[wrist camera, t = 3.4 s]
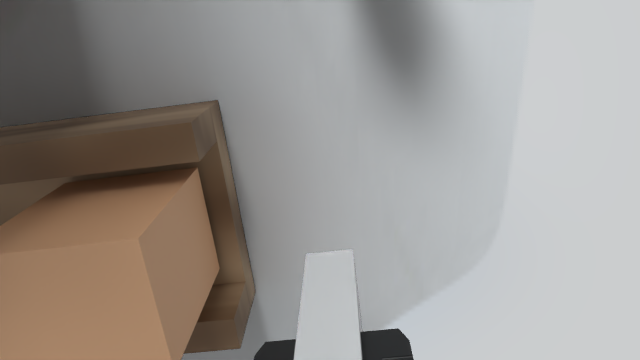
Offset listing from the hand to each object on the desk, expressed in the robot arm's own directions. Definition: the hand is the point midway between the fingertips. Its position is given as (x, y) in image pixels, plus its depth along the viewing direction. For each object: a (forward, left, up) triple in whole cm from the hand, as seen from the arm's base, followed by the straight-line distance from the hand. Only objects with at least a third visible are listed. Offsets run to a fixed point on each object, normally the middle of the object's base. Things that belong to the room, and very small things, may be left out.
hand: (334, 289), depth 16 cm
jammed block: (0, -9, -7) cm, 11 cm away
